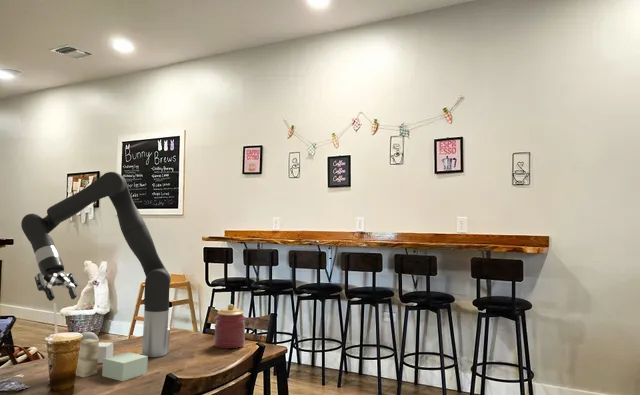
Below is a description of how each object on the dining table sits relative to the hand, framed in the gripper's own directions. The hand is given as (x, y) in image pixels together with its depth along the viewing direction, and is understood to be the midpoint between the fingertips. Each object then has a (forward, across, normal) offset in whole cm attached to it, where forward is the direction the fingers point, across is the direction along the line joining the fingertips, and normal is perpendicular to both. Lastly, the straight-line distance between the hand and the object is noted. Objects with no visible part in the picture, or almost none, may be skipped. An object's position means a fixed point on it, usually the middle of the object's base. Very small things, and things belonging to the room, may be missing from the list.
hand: (63, 298), depth 170 cm
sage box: (+34, +7, -5) cm, 35 cm away
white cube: (+21, +15, +11) cm, 28 cm away
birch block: (+27, +1, +4) cm, 28 cm away
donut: (+17, +13, +16) cm, 27 cm away
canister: (+36, +58, -11) cm, 69 cm away
